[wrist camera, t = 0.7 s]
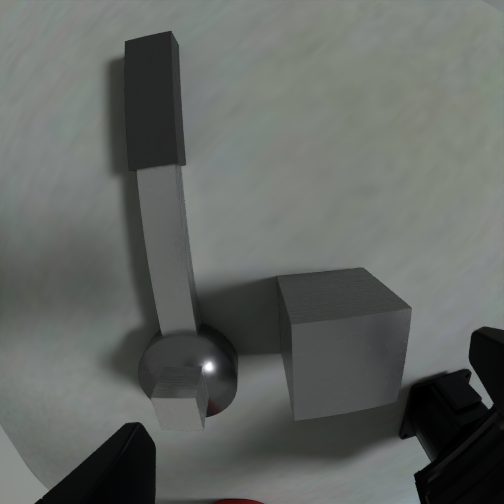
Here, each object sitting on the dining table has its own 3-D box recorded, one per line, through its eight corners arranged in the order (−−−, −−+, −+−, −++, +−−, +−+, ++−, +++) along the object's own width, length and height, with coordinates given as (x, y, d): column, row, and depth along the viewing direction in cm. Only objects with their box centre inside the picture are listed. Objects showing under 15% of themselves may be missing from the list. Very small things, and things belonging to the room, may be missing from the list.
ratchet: (242, 395, 22) (241, 450, 16) (159, 396, 22) (140, 448, 16) (207, 40, 16) (193, -5, 11) (111, 60, 16) (71, 28, 11)
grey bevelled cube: (360, 343, 21) (397, 402, 14) (281, 354, 21) (294, 421, 14) (363, 267, 19) (411, 307, 13) (276, 276, 19) (291, 324, 13)
